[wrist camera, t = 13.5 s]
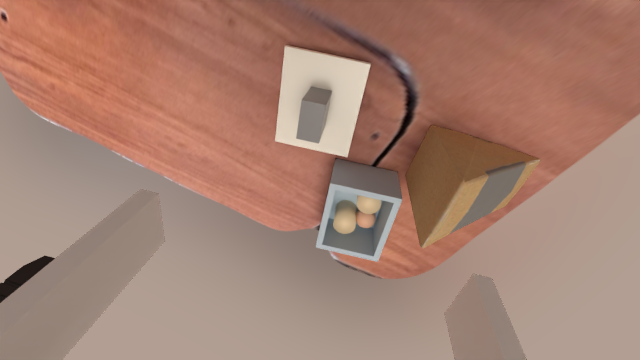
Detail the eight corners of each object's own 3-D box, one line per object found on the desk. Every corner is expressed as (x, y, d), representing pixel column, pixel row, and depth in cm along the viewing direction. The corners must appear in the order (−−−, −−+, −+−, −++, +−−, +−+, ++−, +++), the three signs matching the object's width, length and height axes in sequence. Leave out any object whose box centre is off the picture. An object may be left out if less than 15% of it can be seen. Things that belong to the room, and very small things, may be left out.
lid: (289, 44, 35) (269, 53, 28) (370, 61, 35) (371, 74, 28) (279, 135, 42) (261, 161, 35) (348, 150, 41) (344, 179, 34)
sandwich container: (504, 208, 43) (562, 295, 30) (403, 176, 42) (419, 250, 29) (543, 158, 38) (632, 234, 25) (431, 122, 38) (464, 181, 25)
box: (335, 158, 42) (330, 183, 36) (397, 171, 42) (402, 199, 36) (322, 217, 48) (315, 247, 42) (376, 229, 48) (377, 261, 42)
